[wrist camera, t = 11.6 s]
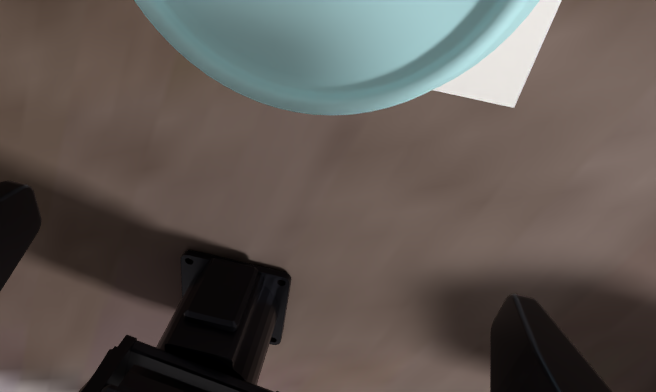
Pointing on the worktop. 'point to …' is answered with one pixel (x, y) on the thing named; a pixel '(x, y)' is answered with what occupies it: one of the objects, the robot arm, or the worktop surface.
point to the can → (335, 46)
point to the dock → (506, 61)
